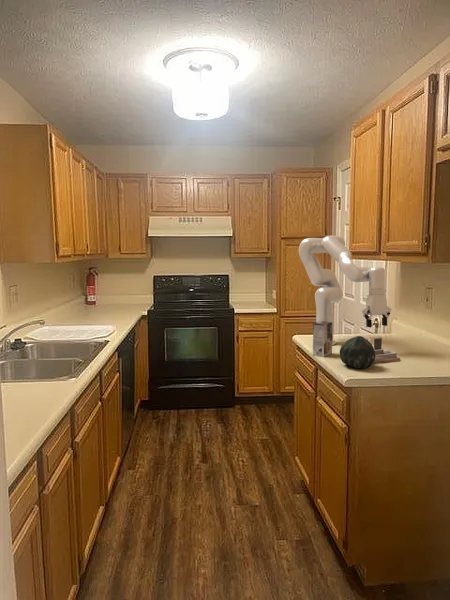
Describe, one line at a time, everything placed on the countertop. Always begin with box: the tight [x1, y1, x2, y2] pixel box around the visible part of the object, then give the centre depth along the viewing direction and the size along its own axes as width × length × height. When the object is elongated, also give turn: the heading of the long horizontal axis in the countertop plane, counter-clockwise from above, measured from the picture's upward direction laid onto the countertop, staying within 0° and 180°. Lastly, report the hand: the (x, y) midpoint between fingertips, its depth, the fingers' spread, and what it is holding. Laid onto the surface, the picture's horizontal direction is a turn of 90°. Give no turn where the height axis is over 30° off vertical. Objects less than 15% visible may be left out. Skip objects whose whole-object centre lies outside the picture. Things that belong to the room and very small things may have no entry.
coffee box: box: [312, 321, 333, 358], centre depth 211 cm, size 9×6×16 cm
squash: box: [339, 335, 375, 370], centre depth 188 cm, size 14×15×15 cm
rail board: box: [372, 348, 401, 365], centre depth 201 cm, size 13×16×6 cm
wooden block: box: [367, 335, 383, 350], centre depth 215 cm, size 4×5×8 cm
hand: (376, 326), depth 213 cm, fingers open, 9 cm apart
